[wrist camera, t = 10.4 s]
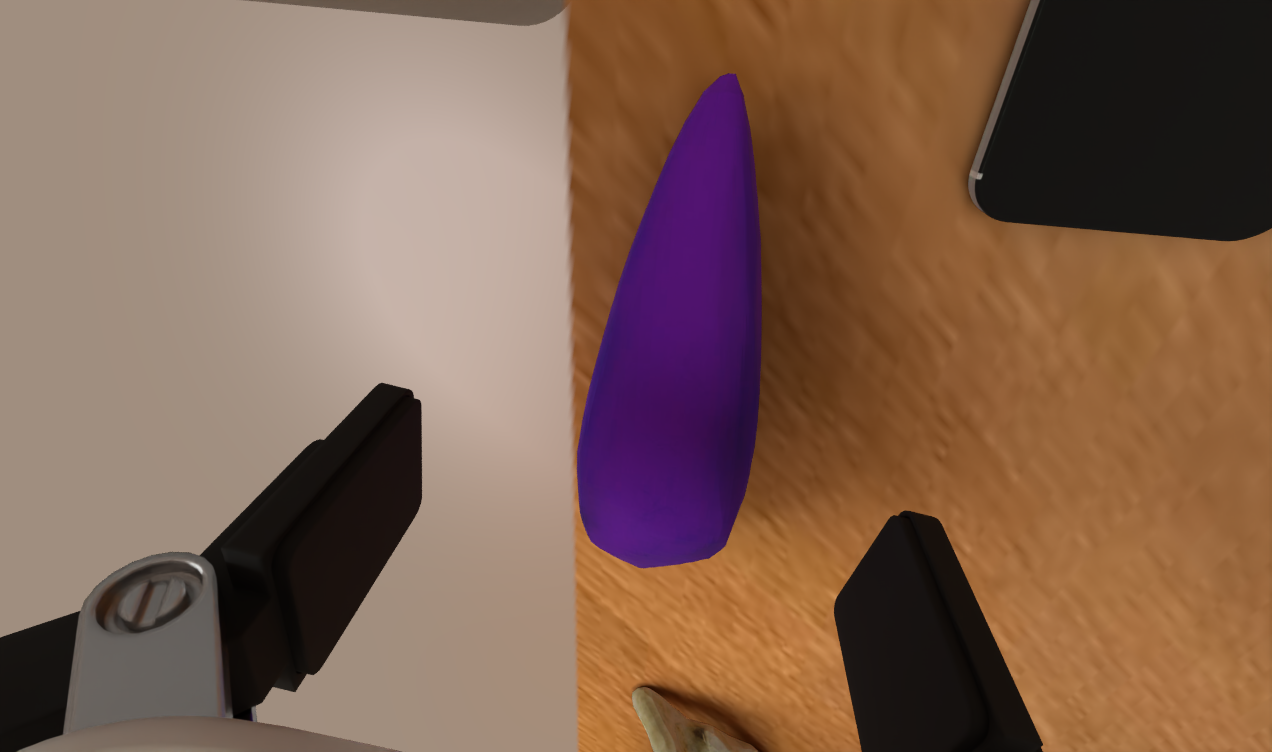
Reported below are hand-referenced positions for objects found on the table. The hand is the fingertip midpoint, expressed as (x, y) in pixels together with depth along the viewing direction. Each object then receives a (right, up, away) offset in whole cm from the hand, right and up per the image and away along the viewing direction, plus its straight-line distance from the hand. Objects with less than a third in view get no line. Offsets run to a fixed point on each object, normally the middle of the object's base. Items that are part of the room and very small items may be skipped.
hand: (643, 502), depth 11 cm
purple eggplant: (+1, +4, +7) cm, 8 cm away
